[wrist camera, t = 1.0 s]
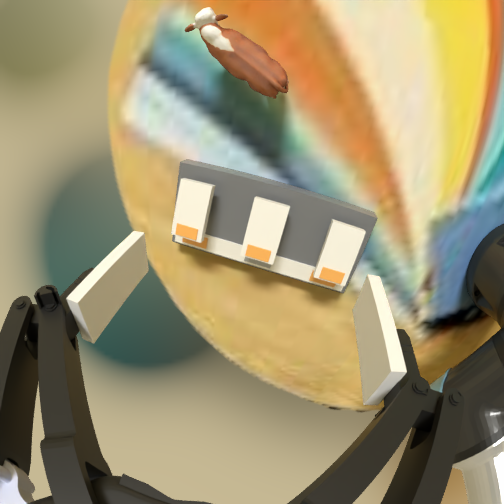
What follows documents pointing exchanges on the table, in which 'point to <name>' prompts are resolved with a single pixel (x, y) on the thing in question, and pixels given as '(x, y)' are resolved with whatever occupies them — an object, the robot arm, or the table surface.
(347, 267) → the switch
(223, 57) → the bull figurine
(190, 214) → the switch
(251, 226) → the switch middle
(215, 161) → the table surface
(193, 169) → the switch panel
